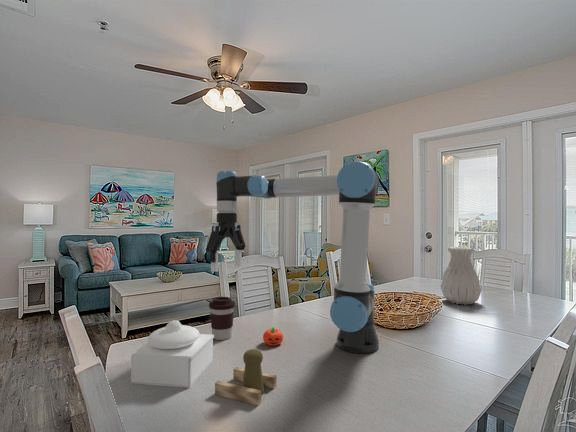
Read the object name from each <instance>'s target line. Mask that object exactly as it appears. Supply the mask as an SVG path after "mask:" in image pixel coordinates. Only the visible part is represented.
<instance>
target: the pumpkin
mask: <svg viewBox="0 0 576 432" xmlns="http://www.w3.org/2000/svg"><path fill="white" fill-rule="evenodd" d="M262 340H263V341H264V343H265V344H266V345H268V346H269V347H270V346H271V347H273V346H274V347H275V346H278V345H280V344H282V343H283V342H284V334H283V333H282V331H281V330H280V329H278V328H275V327H274V326H272V328H270V329H267V330H265V331H264V333H263V335H262Z"/></svg>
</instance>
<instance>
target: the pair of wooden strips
mask: <svg viewBox="0 0 576 432" xmlns="http://www.w3.org/2000/svg"><path fill="white" fill-rule="evenodd" d="M244 371H245V367H244V368H243V367H237V366H235V368H233V374H232V375H233V380H234V381H239V382H242V383H243V378H244ZM262 378H263V386H264V388H269V389H272V390H274V389H276V387H277V375H276V374H273V373H272V374H270V373H266V372H263V371H262ZM214 395H215V396H219V397H222V398H223V397H224V398H226V399H231V400H234V401H239V402H243V403H247V404H250V405H254V406H260V405H261V404H262V395H261V391H260V390H256V389H252V388H247V387H243V385H239V384H234V383H229V382H227V381H226V382H225V381H222V380H217V381H216V382H215V383H214Z"/></svg>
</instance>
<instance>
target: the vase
mask: <svg viewBox="0 0 576 432" xmlns="http://www.w3.org/2000/svg"><path fill="white" fill-rule="evenodd" d="M447 250H448V252H449V253H450V259H449V263H448V265H447V266H446V267H445V271H444V272H443V275H442V278H441V279H442V280H441V282H440V289H441V293H442V296H443V297H444V299H446V300H447V301H448V302H449V301H450V302H449V303H451V302H452V303H451V304H454V303H456V304H455V305H458V304H462V305H461V306H468V305H467V304H471V305H472V304H473V303H476V302H478V300H479V298H480V296H481V292H482V288H481V284H480V279H479V276H478V274H477V272H476V271H477V270H476V269H475V268H474V265H473V264H472V260H471V255H472V253H473V252H474V248H473V247H464V246H449V247H447ZM463 304H464V305H463Z"/></svg>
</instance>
